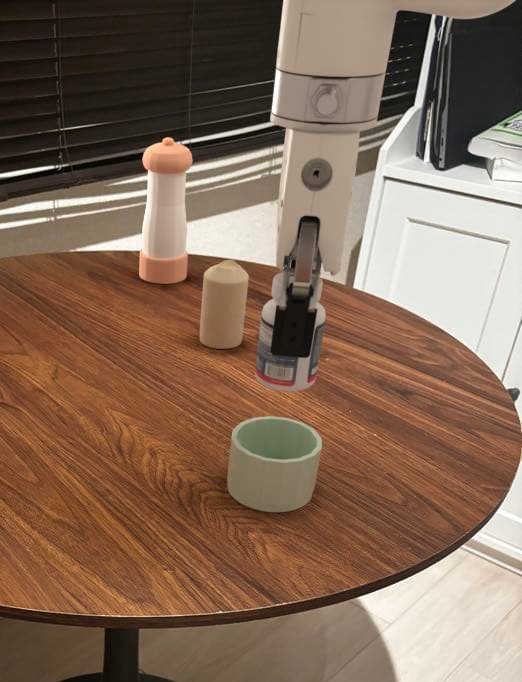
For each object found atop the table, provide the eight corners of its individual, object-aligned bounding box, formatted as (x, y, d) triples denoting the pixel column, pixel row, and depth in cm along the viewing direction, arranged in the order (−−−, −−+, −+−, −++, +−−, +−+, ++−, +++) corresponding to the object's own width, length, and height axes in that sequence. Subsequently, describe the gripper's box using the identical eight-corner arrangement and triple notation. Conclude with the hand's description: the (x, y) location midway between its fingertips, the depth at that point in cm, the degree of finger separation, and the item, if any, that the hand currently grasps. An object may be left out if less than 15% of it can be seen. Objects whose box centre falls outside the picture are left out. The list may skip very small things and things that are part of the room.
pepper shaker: (143, 265, 127) (146, 131, 115) (189, 269, 126) (197, 133, 114) (135, 282, 121) (137, 142, 109) (183, 285, 120) (191, 145, 108)
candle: (209, 328, 108) (215, 253, 101) (248, 337, 106) (256, 260, 99) (192, 344, 104) (197, 266, 98) (232, 352, 102) (240, 274, 96)
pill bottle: (295, 362, 74) (310, 264, 68) (326, 387, 70) (345, 286, 64) (243, 371, 72) (254, 272, 67) (272, 397, 68) (286, 294, 63)
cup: (313, 469, 80) (322, 421, 77) (312, 517, 74) (322, 466, 71) (230, 460, 82) (235, 412, 78) (222, 506, 75) (228, 456, 72)
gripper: (387, 126, 50) (337, 390, 61) (374, 82, 64) (335, 305, 75) (265, 120, 51) (238, 380, 63) (277, 78, 65) (253, 299, 76)
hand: (291, 337), depth 68 cm, fingers closed on pill bottle, 5 cm apart
